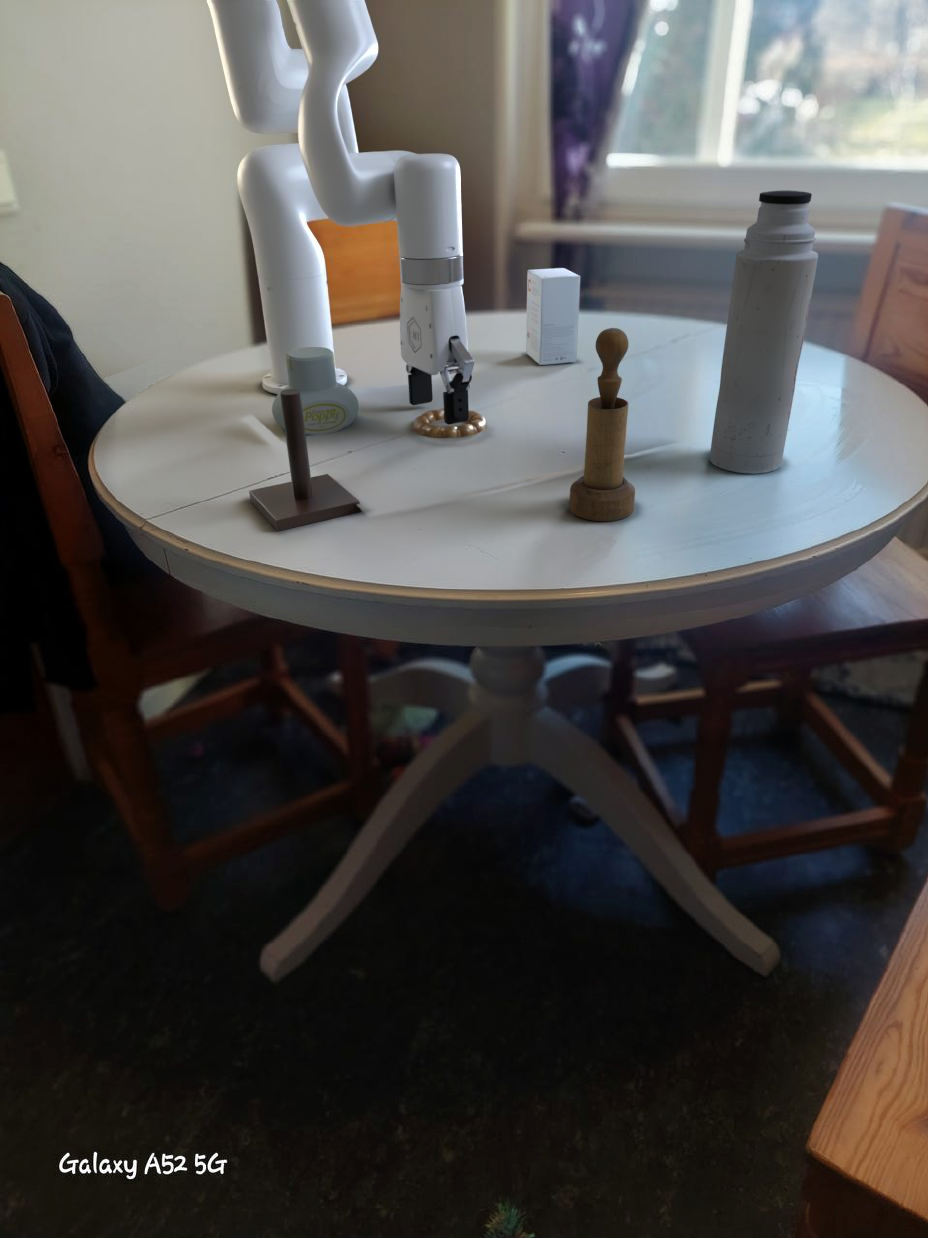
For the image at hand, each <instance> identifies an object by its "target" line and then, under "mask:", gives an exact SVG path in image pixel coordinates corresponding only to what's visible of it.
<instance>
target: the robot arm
mask: <svg viewBox="0 0 928 1238" xmlns="http://www.w3.org/2000/svg"><path fill="white" fill-rule="evenodd" d="M206 3H207V6H208V9H209V13H210V17H211V21H212V23H213V29H214V35H215V39H216V43H217V47H218V51H219V52H218V53H219V57H220V61H221V66H222V69H223V74H224V78H225V83H226V87H227V91H228V96H229V100H230V103H231V107H232V110H233V113H234V116H235V118H236V120H237V122H238V123H239V125H240V126H241V127H242V128H243V129H244V130H246V131H248V132H250V133H254V134H263V135H264V134H265V135H272V134H273V135H274V134H294V133H295V134H296V133H297V139H298V142H293V143H281V144H279V143H278V144H268V145H263V146H260V147H257V148H254V149H253V150H250V151H249V152H248V153H246V155H244V157H243V158H242V159H241V161H240V162H239V165H238V168H237V172H236V184H237V190H238V194H239V197H240V201H241V204H242V208H243V211H244V214H245V217H246V220H247V224H248V227H249V232H250V237H251V240H252V245H253V252H254V258H255V265H256V272H257V277H258V286H259V292H260V293H259V294H260V300H261V307H262V314H263V315H262V316H263V321H264V329H265V337H266V344H267V351H268V359H269V366H270V372H269V373H266V374H265V375H264V376H262V378H261V385H262V386H261V387H262V389H263V390H265V391H266V392H268V393H271V394H275V395H278V394H279V393H280V392H281V391H282V390H283V389H284V388H286V387H287V386H289V380H288V371H287V363H286V355H287V354H288V352H290V351H292V350H294V349H298V348H305V347H323V348H328V349H330V350H331V351H332V352H333V354H334V355H335V350H334V338H333V337H334V336H333V328H332V316H331V308H330V299H329V298H330V297H329V296H330V295H329V287H328V277H327V268H326V267H327V266H326V259H325V255H324V251H323V249H322V247H321V245H320V243H319V242H318V240H317V238H316V237H315V235H314V234H313V232H312V231H311V229H310V227H309V226H308V223H309V222H313V221H321V220H327V219H329V220H330V221H332V222H333V223H335V224H337V225H339V226H342V227H356V226H364V225H371V224H378V223H388V222H396V226H397V243H398V246H397V247H398V255H399V257H398V259H399V274H400V296H399V297H400V298H399V343H400V344H399V345H400V357H401V359H402V361H404V362H405V363H406V364H405V371H406V373H407V383H408V384H407V385H408V398H409V399H408V400H409V404H410V405H411V406H418V405H423V404H428V403H432V402H433V400H434V398H433V379H432V378H433V377H432V376H437V375H438V374H439V375H440V378H441V380H442V383H443V385H444V388H445V391H442V395H443V396H442V398H443V402H442V403H443V409H444V420H443V421H444V423H445V424H446V425H454V424H459V423H463V422H467V420H468V419H469V410H470V408H469V390H470V389H471V384H470V383H472V379H473V375H472V374H473V370H474V366H475V360H474V358H473V356H472V355H471V354H470V352H469V351H468V350H469V348H468V330H467V329H468V328H467V317H466V308H465V300H464V294H463V287H462V286H463V285H464V282H465V281H464V252H463V224H462V223H463V220H462V192H461V191H462V187H461V167H460V163H459V161H458V159H457V158H456V157H455V156H453V155H451V154H448V153H417V152H416V153H415V152H412V151H408V150H385V151H384V150H383V151H367V152H365V151H364V152H359V147H358V142H357V135H356V130H355V123H354V118H353V113H352V112H353V111H352V107H351V101H350V97H349V91H348V87H347V84H348V83H350V82H351V81H354V80H355V79H357V78H358V77H359V76H361V75H362V74H364V73H365V72H366V71H367V70H369V69H370V67H371V66H372V65H373V64H374V62H375V61H376V59H377V57H378V55H379V43H378V39H377V35H376V33H375V30H374V27H373V24H372V20H371V17H370V14H369V10H368V8H367V4H366V1H365V0H286V3H287V5H288V9H289V12H290V15H291V18H292V21H293V24H294V27H295V30H296V33H297V36H298V39H299V43H300V46H301V48H292V47H290V45H289V44H288V41H287V39H286V38H287V37H286V35H285V30H284V27H283V21H282V15H281V14H282V13H281V9H280V7H279V4H278V0H206ZM334 363H335V364H336V359H335V357H334ZM335 372H336V382H338V383H340V384H342V385H344V386H345V385H346V384H347V382H348V377H347V376H348V375H347V372H346V371H345V370H344V369H341V368H338V367H335ZM452 374H453V375H454V376H453V378H452V377H451V375H452Z"/></svg>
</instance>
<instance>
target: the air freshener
mask: <svg viewBox="0 0 928 1238" xmlns="http://www.w3.org/2000/svg"><path fill="white" fill-rule="evenodd" d="M334 358H335V353H334V354H333V352H332V351H331V350H330V349H328V348H323V347H305V348H298V349H294V350H292V351H290V352H288V354H287V355H286V363H287V371H288V380H289V386H287V387H286V388H284V389H283V390H287V389H297V390H300V391H301V400H302V408H303V416H304V425H305V433H306V436H316V435H323V434H331V433H336V432H339V431H342V430H344V429H346V428H348V427H349V426H350V425H352V423H353V422H354V421H355V420H356V418H357V416H358V413H359V410H360V404H359V400H358V398H357V396H356V395H355V393H354V392H353V391H352V390H351V389H350V388H349V387H347V386H346V385H345V384H344V385H342V384H340V383H338V382H336V372H335V368H336V362H335V363H334ZM283 390H282V391H283ZM271 414H272V416H273V419H274V420H275V422H276V424H277V425H279V426H280V428H282V429H283V430H285V427H284V420H283V412H282V405H281V397H280V393H279V394H276V396H275V398H274V399H273V401H272V405H271Z"/></svg>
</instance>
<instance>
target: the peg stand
mask: <svg viewBox="0 0 928 1238" xmlns="http://www.w3.org/2000/svg"><path fill="white" fill-rule="evenodd" d="M280 397H281V405H282V412H283V420H284V427H285V429H284V435H285V441H286V442H285V443H286V450H287V458H288V464H289V472H290V479H291V481H288V482H287V481H286V482H283V483H279V484H274V485H269V486H264V487H260V488H255V489H250V490H248V493H249V500H250V502H251V503H252V504H253V505H254V506H255V508H256V509H257V510H258V511H259V512H260V513H261V514H262V516H263V517H265V519H266V520H267V521H268V522H269V523H270V524H271V526H273V527H274V529H275V530H276V531H277V532H280V531H284V530H288V529H293V528H297V527H301V526H302V527H303V526H307V525H309V524H315V523H318V522H323V521H327V520H330V519H335V518H339V517H344V516H348V515H352V514H356V513H357V514H358V513H360V512H361V508H360V507H359V506H358V505H359V504H360V503H361V501H360V500H359V499H358V498H356V496H354V495H353V494H352V493H350V491H348V490H347V489H346V488H344V486H342V485H341V484H340V483H339V482H338V481H336V480H335V479H334V478H333V477H332V476H330V474H328V473H324V474H319V475H316V476H315V475H314V476H311V467H310V459H309V451H308V441H307V435H306V433H305V425H304V416H303V408H302V400H301V391H300V390H297V389H287V390H283V391H281V392H280Z"/></svg>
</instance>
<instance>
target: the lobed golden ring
mask: <svg viewBox="0 0 928 1238" xmlns="http://www.w3.org/2000/svg"><path fill="white" fill-rule="evenodd" d="M438 421H444V408H438V409H437V408H436V409H433V410H427V411H425V412H424V413H422V414H420V415H418V416H416V417H415V419H414V421H413V426H412V427H413V428H412V430H413V431H415V432H416V433H417V434H420V435H421V436H425V437H430V438H436V439H460V438H465V437H466V438H467V437H471V436H475V435H478V434H479V433H481V432H483V431H484V430H486V429H487V419H486V418H485V416H484V415H482V414H481V413H479V412H476V411H475V410H472V409H469V419H468V420H467V421H466V422H467V424H462V425H457V426H440V425H435V424H433V423H435V422H438Z"/></svg>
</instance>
